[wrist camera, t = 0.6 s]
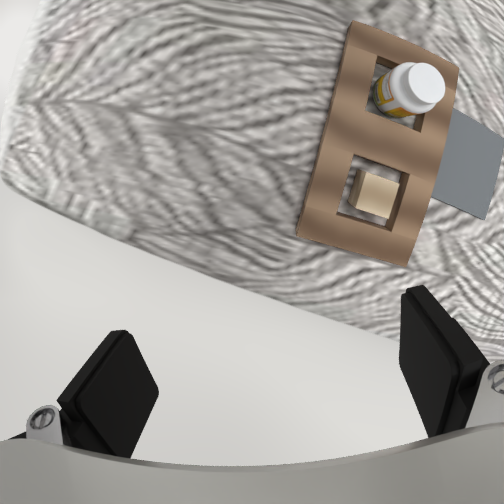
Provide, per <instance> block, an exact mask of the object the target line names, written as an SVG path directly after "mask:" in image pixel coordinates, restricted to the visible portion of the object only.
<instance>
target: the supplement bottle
mask: <svg viewBox="0 0 504 504" xmlns="http://www.w3.org/2000/svg"><path fill="white" fill-rule="evenodd" d="M444 94H445V83H444V79H443V77H442V75H441V74H440V72H439V71H438V70H437V69H436V68H435V67H433V66H432V65H430V64H427V63H413V62H406V63H403V64H400V65H398V66H397V67H395V68H394V69H392V70H391V71H389V72H388V73H386V74H385V75H383V76H382V77H380V78H379V79H378V80H377V81H376V82H375V84H374V87H373V99H374V102H375V104H376V106H377V107H378V108H379V110H380V111H381V112H383V113H384V114H386V115H387V116H390V117H393V118H402V117H406V116H411V115H416V114H421V113H425V112H428V111H430V110H431V109H432V108H433V107H434V106H435V105H436V103H437V102H439V101H440V100H441V99H442V98H443V96H444Z"/></svg>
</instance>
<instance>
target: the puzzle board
mask: <svg viewBox="0 0 504 504" xmlns="http://www.w3.org/2000/svg"><path fill="white" fill-rule="evenodd" d="M406 62H413V63H427V64H430V65H432V66H433V67H435V68H436V69H437V70H438V71H439V72H440V74H441V75H442V77H443V79H444V83H445V94H444V96H443V98H442V99H441V100H440V101H439V102H437V103H436V105H435V106H434V107H433V108H432V109H431V110H430V111H428V112H425V113H421V114H417V115H416V120H415V124H414V128H413V129H411V128H408V127H406V126H404V125H401V124H399V123H396V122H394V121H391V120H389V119H386V118H384V117H381V116H378V115H376V114H373V113H370V112H368V111H365V108H366V104H367V100H368V96H369V91H370V87H371V83H372V78H373V74H374V69H375V64H376V63H379V64H381V65H384V66H386V67H389V68H391V69H394V68H395V67H397V66H398V65H400V64H403V63H406ZM458 73H459V67H457V66H455V65H454V64H452V63H450V62H448V61H446V60H444V59H443V58H441V57H439V56H437V55H435V54H433V53H431V52H429V51H427V50H425V49H423V48H421V47H419V46H417V45H415V44H412V43H410V42H408V41H406V40H403V39H401V38H399V37H396V36H394V35H392V34H389V33H387V32H384V31H382V30H379V29H377V28H374V27H371V26H368V25H366V24H363V23H360V22H357V21H354V20H353V21H352V22H351V24H350V26H349V27H348V32H347V36H346V41H345V45H344V49H343V54H342V58H341V62H340V66H339V70H338V75H337V79H336V83H335V87H334V91H333V95H332V99H331V103H330V107H329V111H328V115H327V118H326V122H325V126H324V130H323V134H322V138H321V141H320V145H319V149H318V153H317V156H316V160H315V164H314V167H313V171H312V175H311V178H310V182H309V185H308V189H307V192H306V196H305V200H304V203H303V207H302V210H301V213H300V217H299V220H298V224H297V227H296V236H298V237H301V238H305V239H309V240H312V241H316V242H320V243H323V244H327V245H330V246H334V247H338V248H341V249H345V250H348V251H352V252H355V253H359V254H362V255H366V256H369V257H373V258H376V259H380V260H383V261H387V262H390V263H394V264H397V265H400V266H404V267H406V266H407V263H408V261H409V258H410V255H411V253H412V250H413V248H414V245H415V242H416V239H417V237H418V234H419V231H420V228H421V225H422V223H423V220H424V217H425V214H426V211H427V207H428V204H429V201H430V198H431V195H432V191H433V188H434V185H435V181H436V178H437V174H438V170H439V167H440V163H441V159H442V155H443V151H444V147H445V143H446V139H447V134H448V130H449V125H450V120H451V115H452V110H453V104H454V99H455V93H456V87H457V80H458ZM353 155H356V156H359V157H362V158H365V159H368V160H371V161H374V162H376V163H379V164H382V165H385V166H387V167H390V168H393V169H395V170H398V171H401V172H402V174H401V178H400V181H399V187H398V191H397V194H396V197H395V200H394V203H393V207H392V210H391V213H390V216H389V219H387V222H386V225H385V226H382V225H379V224H375V223H372V222H369V221H366V220H363V219H360V218H356V217H353V216H350V215H347V214H343V213H340V212H337V210H338V206H339V203H340V200H341V197H342V193H343V190H344V186H345V183H346V180H347V176H348V173H349V169H350V165H351V162H352V158H353Z"/></svg>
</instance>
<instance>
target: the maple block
mask: <svg viewBox="0 0 504 504" xmlns="http://www.w3.org/2000/svg"><path fill="white" fill-rule="evenodd" d="M398 187H399V184H398V183H396V182H393V181H390V180H388V179H385V178H382V177H379V176H376V175H374V174H371V173H368V172H365V171H362V170H358V169H357V172H356V176H355V179H354V183H353V186H352V189H351V193H350V196H349V199H348V202H349V203H350V204H351V205H352V206H354V207H355V208H357V209H360V210H363V211H366V212H369V213H372V214H375V215H378V216H381V217H384V218H387V219H389V216H390V213H391V210H392V207H393V203H394V200H395V197H396V194H397V191H398Z"/></svg>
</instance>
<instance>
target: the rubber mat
mask: <svg viewBox="0 0 504 504" xmlns="http://www.w3.org/2000/svg"><path fill="white" fill-rule="evenodd" d="M503 149H504V138H502V137H501V136H499V135H498V134H496V133H495V132H493V131H492V130H490V129H488V128H487V127H485V126H484V125H482V124H480V123H479V122H477V121H475V120H474V119H472V118H470V117H469V116H467V115H465V114H463V113H462V112H460V111H458V110H456V109H454V108H453V110H452V115H451V120H450V125H449V130H448V134H447V139H446V143H445V147H444V151H443V155H442V159H441V163H440V167H439V170H438V174H437V178H436V181H435V185H434V188H433V191H432V195H431V197H433V198H436V199H438V200H440V201H443V202H445V203H447V204H450V205H452V206H454V207H457V208H459V209H461V210H463V211H465V212H468V213H470V214H472V215H474V216H476V217H478V218H480V219H483V220H485V218H486V215H487V211H488V208H489V205H490V202H491V198H492V195H493V191H494V187H495V184H496V180H497V176H498V172H499V167H500V163H501V159H502V154H503Z"/></svg>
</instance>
